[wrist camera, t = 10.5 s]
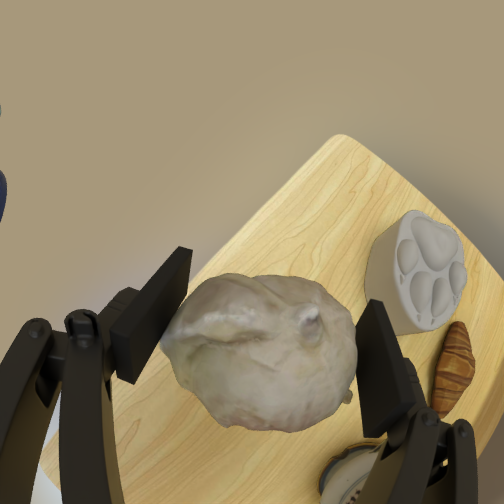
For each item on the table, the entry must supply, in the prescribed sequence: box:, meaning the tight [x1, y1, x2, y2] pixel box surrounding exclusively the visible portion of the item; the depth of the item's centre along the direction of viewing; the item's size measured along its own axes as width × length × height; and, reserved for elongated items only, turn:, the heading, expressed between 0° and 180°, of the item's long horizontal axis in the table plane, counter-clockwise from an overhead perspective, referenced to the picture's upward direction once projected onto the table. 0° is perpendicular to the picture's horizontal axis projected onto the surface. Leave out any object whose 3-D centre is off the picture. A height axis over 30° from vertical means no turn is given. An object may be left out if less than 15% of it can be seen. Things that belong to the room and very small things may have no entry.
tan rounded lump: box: [160, 273, 357, 433], centre depth 13 cm, size 9×8×10 cm
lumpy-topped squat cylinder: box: [364, 210, 467, 336], centre depth 28 cm, size 10×13×9 cm
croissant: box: [431, 321, 475, 419], centre depth 26 cm, size 14×7×5 cm, turn 162°
